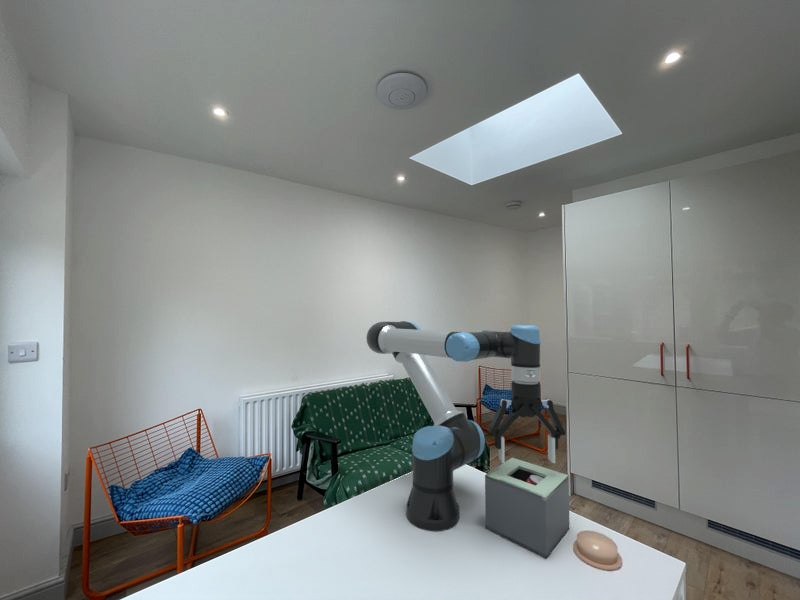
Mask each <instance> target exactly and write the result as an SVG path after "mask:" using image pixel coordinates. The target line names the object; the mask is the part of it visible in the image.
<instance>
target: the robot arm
mask: <svg viewBox="0 0 800 600" xmlns="http://www.w3.org/2000/svg"><path fill="white" fill-rule="evenodd" d="M366 343H367V346H368V348H369V349H370V350H371V351H372V352H374V353H376V354H382V355H383V354H384V355H386V354H387V355H391V354H392V356H393V358H394V360H395V362H397V363H399V364H402V366H403V368H404V370H405V371H406V373H407V375H408V377H409V379H410V381H411V382H412V384H413V386H414V388H415V390H416V392H417V393H418V396H419V397H420V400H421V401H422V404H423V405H424V407H425V408H426V410H427V412H428V414H429V416H430V418H431V419H432V421H433V425H427V426H424V427H422V428H420V429H418V430H417V431H416V432H415V434H414V435H413V439H412V446H411V447H412V448H411V451H412V487H411V490H410V493H409V496H408V499H407V502H406V507H405V508H406V510H405V511H406V514H405V516H406V518H407V519H408V521H409V522H410V523H411V524H413V525H414V526H415V527H417V528H420V529H422V530H426V531H436V532H437V531H438V532H439V531H445V530H449V529H451V528H453V527H455V526H456V525H457V524H458V522H459V521H460V514H461V513H460V510H461V509H460V505H459V503H458V499H457V496H456V493H455V490H454V471H456V470H458V469H459V468H462V467H463V466H466V465H467V464H470V463H472V462H473V461H476V459H478V458H479V457H480V456H481V455H482V454H483V452H484V450H485V444H486V439H485V434H484V432H483V430H482V428H481V427H480V425H479V423H477V422H475V421H473V420H472V419H468V418H467V416H466V415H465V413H464V411H460V410H457V408H456V407H455V404H454V403H453V402H452V399H451V398H450V396H449V395H448V393H447V391H446V389H445V388H444V386H443V384H442V382H441V381H440V380H439V378H438V376H437V374H436V373H435V371H434V369H433V367H432V366H431V364H430V362H429V360H428V359H427V357H426V356H431V357H440V358H447V359H448V358H449V359H452V360H453V361H456V362H463V363H464V362H471V361H475V360H476V361H477V360H482V359H487V358H505V359H510V367H511V369H510V373H511V374H510V379H511V380H512V381H511V383H510V384H511V385H510V386H511V387H510V388H511V390H510V391H511V398H510V400H508V399H504V398H500V399H499V405H498V408H497V410H496V412H495V413H494V416H493V418H492V420H491V422H490V425H489V427H488V429H487V431H488V432H489V435H491V436H494V446H495V448H496V449H497V450H498V459H499V461H500V462H501V464H503V463H505V462H506V461H505V460H506V459H505V458H506V457H505V454H506V453H505V437H504V436H503V435H504V434H505V433H506V432H507V430H508V429H509V428H510V426H512V424H513V423H514V422H515V421H516V420H517V419H518V418H519V417H521V418H527V417H529V418H534V417H536V418H537V419H538V420H539V421H540V423H541V424H542V425H543V426H544V427H545V428H546V430H547V431H548V432H549V433H550V434H547V460H549V462H551V464H556V450H558V449H559V439H561V436H565V435H566V430H565V429H564V427H563V425H562V423H561V421H560V419H559V416H558V415H557V413H556V411H555V408H554V402H553V400H551V399H550V398H544V399H543V400H542V399H541V398H542V395H541V394H542V391H541V390H542V389H541V383H540V382H541V343H542V342H541V338H540V329H539V327H538V326H536V325H533V324H532V325H528V324H527V325H525V324H524V325H522V324H521V325H520V324H518V325H517V324H516V325H515V324H514V325H512V326H511V327H510V331H495V330H477V331H472V332H471V331H469V332H468V331H465V332H464V331H448V330H446V331H445V330H432V329H431V330H428V329H421V327H420V326H418V325H417V324H416V323H415V322H412V321H408V320H407V321H406V320H402V321H378V322H376V323H373V325H372V326H370V327H369V328H368V330H367V334H366ZM510 406H511V407H512V408H511V410H509V414H507V415H506V417H505V418H504V419H503V417H504V415H505V414H506V411H507V409H508V408H509V407H510ZM542 407H544V408H545V410H546V412H547V414H548V416H549V418H550V419H551V422H552V423H553V426H552V425H551V422H549V421H548V420H547V418H546V417H545V416H544V415H543V414H542V412H541V411H540V410H541V408H542Z"/></svg>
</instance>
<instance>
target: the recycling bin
mask: <svg viewBox="0 0 800 600" xmlns="http://www.w3.org/2000/svg"><path fill="white" fill-rule="evenodd" d="M531 475H537V476H540V477H542V478H544V479H543V480H542V481H540V482H539V483H538V484H537V485H536V486H535V485H532V484H530V483H527V482H526V480H527V479H528V478H530V476H531ZM569 477H570V476H569V474H565V473H562V472H560V471H557V470H553V469H550V468H547V467H544V466H540V465H537V464H534V463H531V462H528V461H524V460H521V459H517V458H515V457H511V458H509V459H507V460H506V461H505V463H501V464H500V465H498V466H497V467H495V468H494V469H492V470H491V471H489V472H487V473H486V474H485V475H484V486H485V487H484V496H485V497H484V504H485V506H484V508H485V511H484V512H485V514H484V517H485V518H484V519H485V520H484V523H485V525H484V526H485V530H487V531H489V532H492V533H493V534H495V535H498V536H499V537H501V538H503V539H505V540H506V541H507V540H508V541H509V542H511V543H512V544H515V545H517V546H519V547H521V548H524V549H525V550H527V551H529V552H531V553H533V554H535V555H538V556H540V557H541V558H543V559H545V560H547V559H548V558H549V557H550V555H551V554H552V553H553V551H554V550H555V548H556V547H557V546H558V545H559V543H560V542H561V540H562V539H563V538H564V537H565V535H566V534H567V533H568V531H569V530H570V492H569V491H570V488H569V487H570V484H569V483H570V482H569V479H570V478H569Z"/></svg>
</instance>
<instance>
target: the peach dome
mask: <svg viewBox="0 0 800 600" xmlns="http://www.w3.org/2000/svg"><path fill="white" fill-rule="evenodd" d="M572 546H573V547H572V548H573V552H574V554H575V556H576V557H577V558H578V559H579V560H580V561H581V562H582V563H584V564H586V565H587V566H589V567H592V568H594V569H596V570H599V571H605V572H606V571H607V572H614V571H618V570H620V569H621V568H622V565H623V560H622V559H623V558H622V556H621V554H620V553H619V552H618V551H619V550H618V546H617V543H616V542H615V541H614V540H613V539H612V538H610V537H609V536H607V535H605V534H604V533H600V532H598V531H594V530H581V531H578V532H577V534H576V540H575V541H573V544H572Z"/></svg>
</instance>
